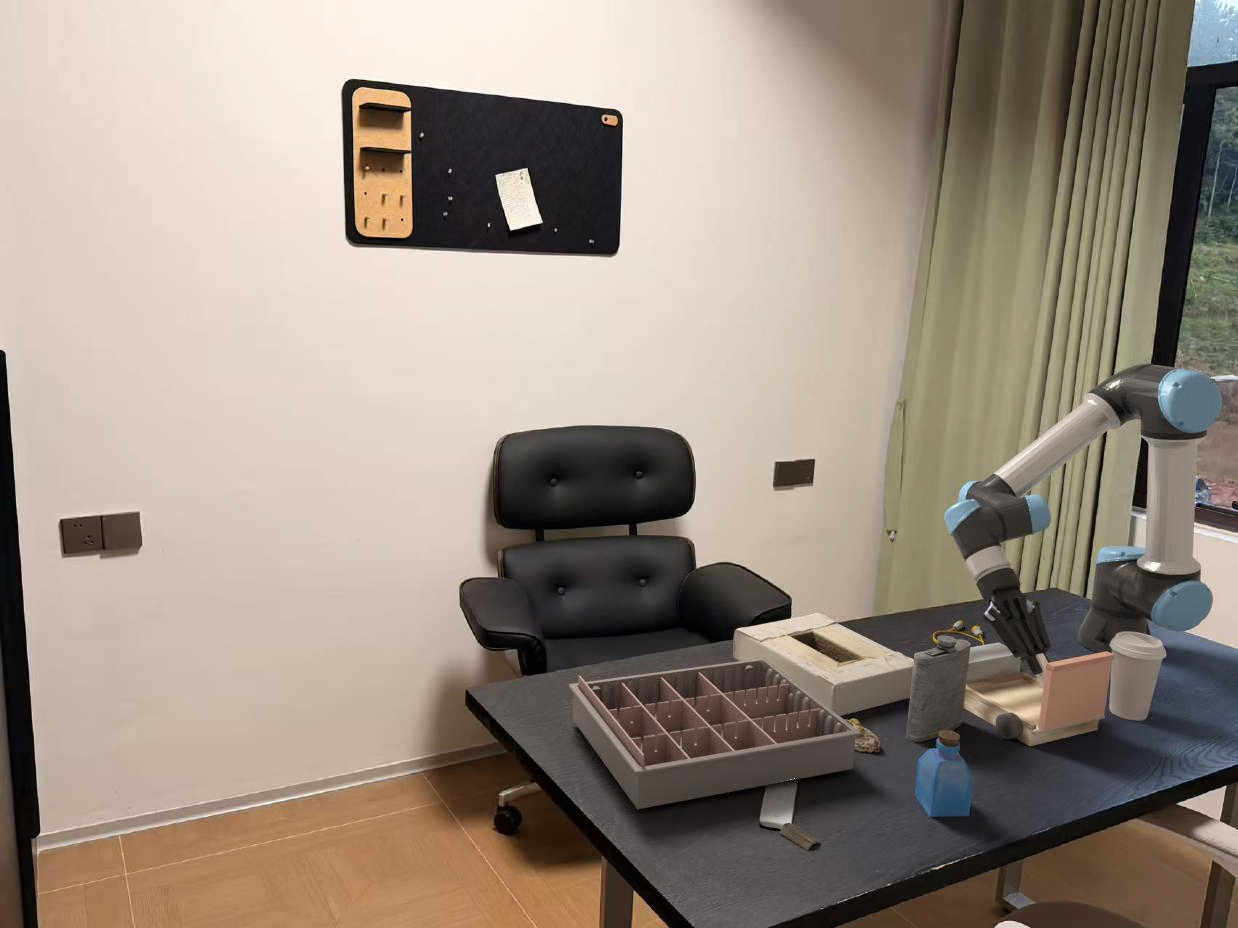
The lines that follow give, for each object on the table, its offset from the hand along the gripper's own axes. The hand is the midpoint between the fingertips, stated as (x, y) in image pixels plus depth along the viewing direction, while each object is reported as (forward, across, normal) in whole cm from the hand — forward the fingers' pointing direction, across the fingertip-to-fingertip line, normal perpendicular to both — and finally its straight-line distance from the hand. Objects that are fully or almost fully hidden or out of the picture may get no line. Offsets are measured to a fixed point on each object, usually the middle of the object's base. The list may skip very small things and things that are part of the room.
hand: (1052, 689), depth 177 cm
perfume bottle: (+15, +37, +3) cm, 40 cm away
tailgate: (+6, 0, 0) cm, 6 cm away
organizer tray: (-6, +63, -17) cm, 65 cm away
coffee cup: (+6, -20, -5) cm, 22 cm away
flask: (+1, +20, -10) cm, 23 cm away
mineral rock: (-1, +37, -13) cm, 39 cm away
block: (+14, +63, +2) cm, 65 cm away
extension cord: (-22, -17, -34) cm, 44 cm away
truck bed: (0, 0, -11) cm, 11 cm away
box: (-18, +25, -30) cm, 43 cm away
